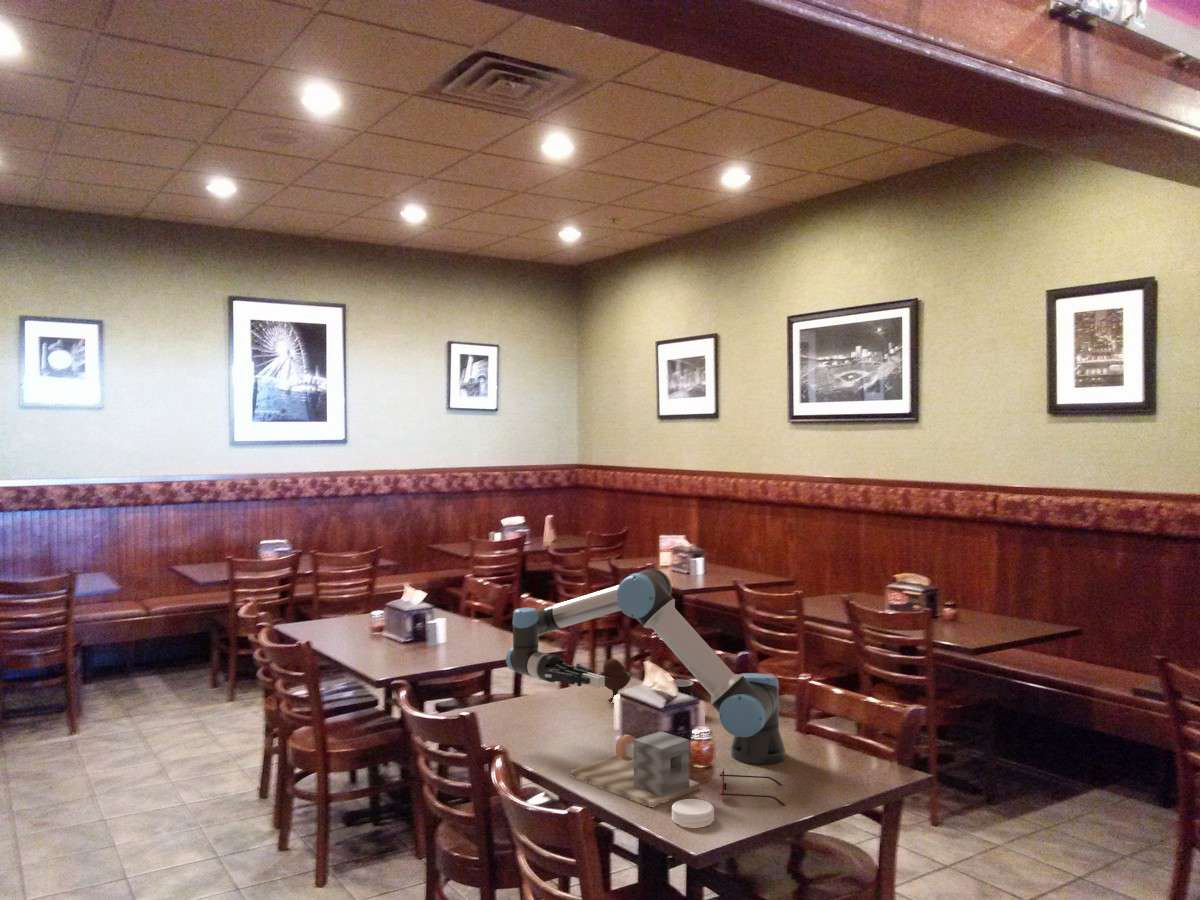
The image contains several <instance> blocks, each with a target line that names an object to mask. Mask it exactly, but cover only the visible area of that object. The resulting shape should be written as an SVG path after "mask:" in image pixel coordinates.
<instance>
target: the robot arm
mask: <svg viewBox="0 0 1200 900" xmlns="http://www.w3.org/2000/svg"><path fill="white" fill-rule="evenodd" d="M675 602H676V599H675V598H674V597H673V596H672V583H671V581H670V578H669V577H668V575H667V574H665V572H663V571H661V570H660V569H656V568H646V569H644V570H641V571H638V572H635V573H631V574H628V576H627V577H625V578H624V579H622V581H620V583H619V584H617V585H613V586H609V587H606V588H604V589H601V590H596V591H594V592H591V593H588V594H584V595H581V596H578V597H574V598H572V599H569V600H565V601H562V602H558V603H555V604H553V605H549V606H543V607H541V608H540V609H536V608H534V607H521V608H516V609H514V611H513V612H512V613H513V615H512V622H511V623H512V644H513V646H512V647H511V648H510V649H509V650H508V652H507V655H506V657H505V662H506V665H507V667H508V668H509V670H511V671H512V672H515V673H517V674H520V675H525V676H528V677H532V678H536V679H538V680H539V681H546V682H549V683H556V682H559V683H563V684H569V685H575V684H577V687H582V685H586V686H590V687H593V688H597V689H600V688H604V687H606V686H605V677H604V676H601V675H599V674H596V673H594V672H595V670H594V669H591V668H589V667H586V666H584V665H581V663H576V664H574V665H572V664H569V663H566V662H564V661H563V659H562V658H561V657H559V655H558V656H557V655H554V654H550V653H547V652H542V651H539V637H541V636H542V635H545V634H547V633H551V632H555V631H556V630H560V629H562V628H566V627H570V626H572V625H576V624H580V623H583V622H586V621H589V620H590V621H591V620H594V619H597V618H600V617H603V616H607V615H610V614H613V613H617V612H618V613H619V612H622V613H623V614H624V615H625V616H627V617H628V618H629V617H630V618H632V619H636V621H638V623H640V624H641V626H642V627H643V628H644V629H652V630H653V631H654V632H655V633H656V635H658V637H659V638H660V639H661V640H662V641H663V642H664V644H665V645H666V646H667V647H668V649H670V650H671V651H672V653H673V654H674V656H676V657H677V659H678V660H679V661H680V662H681V663H682V664H683V666H684V667H685V668H686V669H687V670H688V671H689V672H690V673H691V674H692V675H693V677H694V678H695V679H696V681H698V683H700V684H701V686H702V687H703V688H704V689H705V690H706V692H708V693H709V695H710V705H711V706H713V708H714V709H715V710H716V711H717V712H718V716H719V718H718V719H719V721H720V724H721V726H722V727H723V729H724V730H725V731H726V732H728V733H729V734H730V735H732V736H734V737H733V740H732V743H731V747H730V749H731V750H730V752H731V753H730V755H731V757H732V758H733V759H734V760H737V761H739V762H743V763H746V764H752V765H773V764H777V763H780V762H782V761H784V760H785V759H786V748H785V744H784V741H783V738H782V735H781V732H780V727H779V726H780V725H779V723H780V722H779V721H780V718H779V717H780V716H779V714H780V712H779V711H780V709H779V708H780V707H779V705H780V704H779V703H780V702H779V701H780V699H779V694H780V693H779V690H780V686H779V679H778V677H777V676H774V675H771V674H766V673H757V672H749V673H748V672H745V673H744V672H743V673H740V674H737V673H734V672H733V671H732V670H731V669H730V667H728V665H726V664H725V662H724V661H723V659H722V658H720V657H719V656H718V654H717V653H716V652H715V651H714V650H713V648H711V647H710V646H709V645H708V643H707V642H706V640H704V639H703V638H702V636H700V635H699V633H698V632H697V631H696V630H695V628H694V627H693V626H691V624H690V623H689V621H687V620H686V619H685V618H684V616H683V615H682V614H681V613H680V612H679V611H678V610H677V609H676V607H675V605H676V603H675Z"/></svg>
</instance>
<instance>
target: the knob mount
mask: <svg viewBox="0 0 1200 900" xmlns="http://www.w3.org/2000/svg"><path fill="white" fill-rule="evenodd" d="M571 775H572V776H574V777H573V778H575V777H577V778H579V779H578V780H580V779H581V780H580V781H582V780H583V782H585V781H587V782H590V783H591V784H590V783H589V784H590V785H592V784H594V785H593V786H595V785H597V786H599V787H598V788H600V787H602V788H604V789H603V790H605V789H607V790H609V791H608V792H610V791H612V792H614V793H613V794H615V793H616V794H615V795H617V794H619V795H618V796H620V795H621V796H620V797H622V796H624V797H623V798H625V797H627V798H629V799H628V800H630V799H632V800H635V801H638V802H640V803H643V804H645V805H647V806H650V807H652V806H655V805H657V804H660V803H662V802H664V801H667V800H670V799H673V798H675V799H677V798H676V797H678V798H680V797H683V796H685V794H686V795H688V794H691V793H693V792H695V790H696V791H698V790H700V789H701V783H700V782H698V781H696V780H693V779H690V740H689V739H687V738H684V737H681V736H678V735H674V734H673V733H672V734H670V733H667V732H665V731H662V730H661V731H660V730H659V731H657V732H653V733H649V734H647V735H643V736H641V737H637V738H636V739H634V758H633V759H632V760H630V761H625V760H623V759H620V758H619V757H618V756H617V754H615V755H613V756H611V757H607V758H604V759H601V760H597V761H594V762H592V763H589V764H586V765H583V766H580V767H575V768H574V769H570V776H571ZM572 776H571V777H572ZM577 778H576V779H577ZM587 782H586V783H587ZM597 786H596V787H597ZM602 788H601V789H602ZM607 790H606V791H607ZM692 791H693V792H692ZM612 792H611V793H612ZM690 792H691V793H690ZM687 793H688V794H687ZM682 795H683V796H682ZM679 796H680V797H679ZM627 798H626V799H627ZM632 800H631V801H632ZM673 800H674V799H673ZM635 801H634V802H635ZM670 801H671V800H670ZM640 803H639V804H640ZM645 805H644V806H645ZM660 805H661V804H660ZM647 806H646V807H647ZM650 807H649V808H650ZM655 807H656V806H655Z"/></svg>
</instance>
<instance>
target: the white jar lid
mask: <svg viewBox="0 0 1200 900" xmlns="http://www.w3.org/2000/svg"><path fill="white" fill-rule="evenodd" d="M672 820H673V821H674V822H675V823H677V824H680V825H683V826H690V827H701V826H706V825H709V824H711V823H712V822H713V821H715V808H714V806H713V805H712V803H710V802H709V801H706V800H702V799H698V798H687V799H680V800H677V801H675V802H674V803H673V804H672V806H671V821H672ZM673 821H672V822H673ZM674 822H673V823H674ZM675 823H674V824H675ZM713 823H714V822H713ZM713 823H712V824H713ZM712 824H711V825H712Z"/></svg>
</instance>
